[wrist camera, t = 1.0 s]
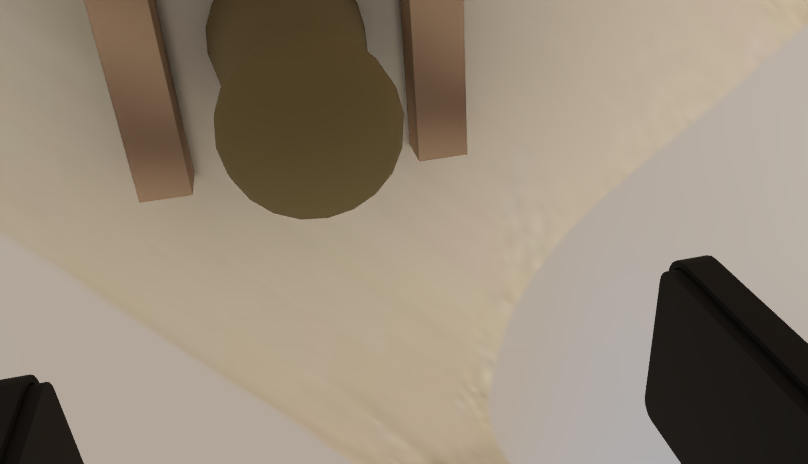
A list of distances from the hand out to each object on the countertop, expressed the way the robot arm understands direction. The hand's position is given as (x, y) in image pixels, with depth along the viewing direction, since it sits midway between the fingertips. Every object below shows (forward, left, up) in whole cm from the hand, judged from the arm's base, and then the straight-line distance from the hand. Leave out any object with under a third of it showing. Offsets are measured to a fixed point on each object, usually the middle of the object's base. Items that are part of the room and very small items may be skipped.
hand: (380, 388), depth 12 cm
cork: (0, 0, -20) cm, 20 cm away
